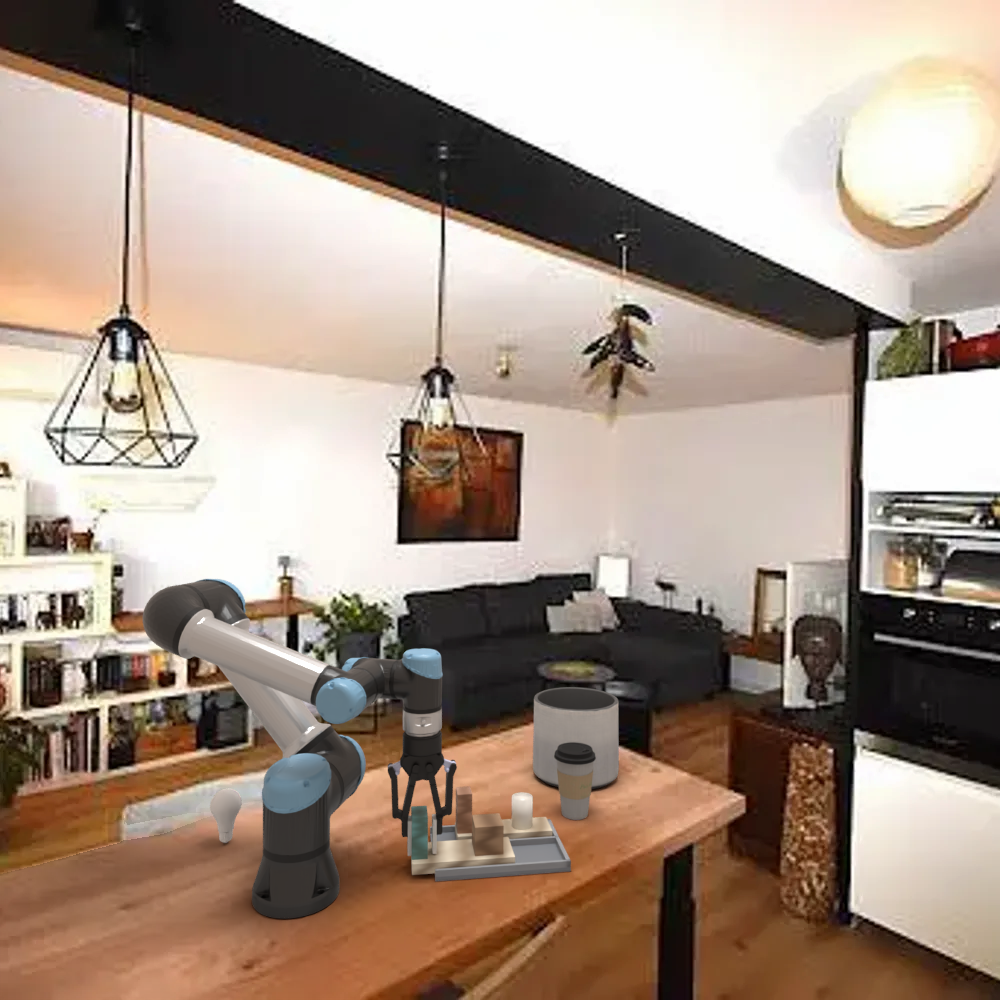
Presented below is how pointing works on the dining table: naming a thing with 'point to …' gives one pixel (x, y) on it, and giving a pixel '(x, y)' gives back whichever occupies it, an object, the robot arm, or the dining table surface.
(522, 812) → the stoneware cylinder
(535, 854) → the lane board
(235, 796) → the lightbulb
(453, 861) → the strip
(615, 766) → the planter
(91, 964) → the dining table surface
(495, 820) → the walnut cube
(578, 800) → the coffee cup
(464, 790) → the strip
